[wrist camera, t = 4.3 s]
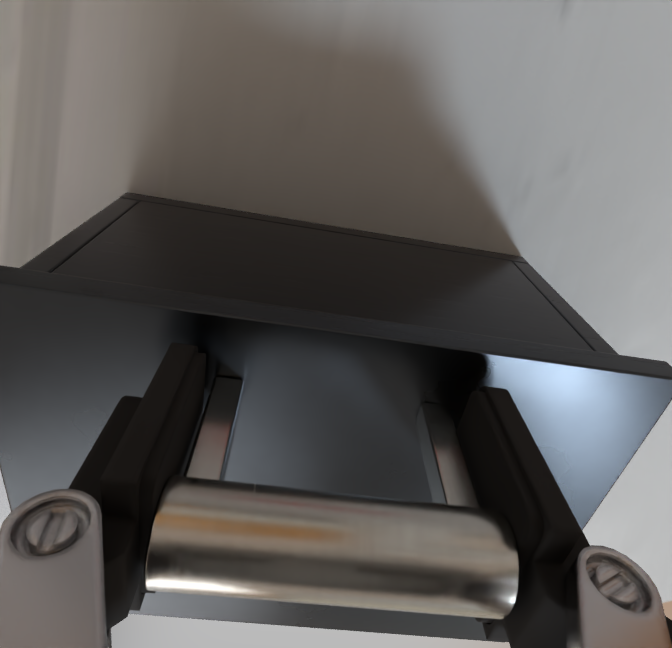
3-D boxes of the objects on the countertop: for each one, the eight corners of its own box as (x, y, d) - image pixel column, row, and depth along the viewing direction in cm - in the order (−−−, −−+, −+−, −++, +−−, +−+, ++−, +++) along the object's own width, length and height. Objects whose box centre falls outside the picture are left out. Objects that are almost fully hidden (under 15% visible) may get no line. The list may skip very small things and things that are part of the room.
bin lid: (-27, 260, 11) (-312, 449, 6) (666, 360, 12) (880, 570, 8) (46, 583, 17) (-64, 801, 12) (499, 620, 19) (558, 824, 14)
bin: (126, 191, 19) (-5, 282, 12) (522, 256, 21) (638, 373, 13) (132, 418, 25) (47, 582, 17) (447, 455, 27) (498, 619, 19)
